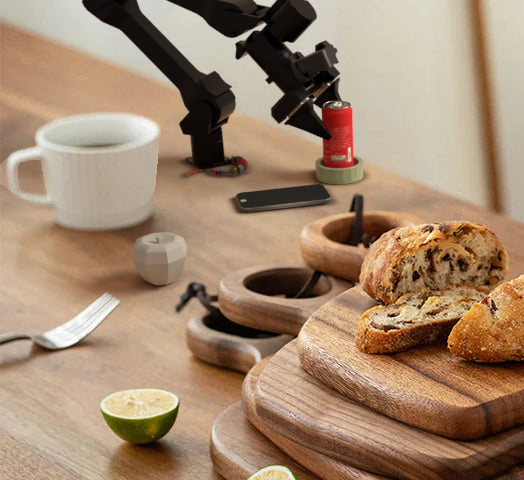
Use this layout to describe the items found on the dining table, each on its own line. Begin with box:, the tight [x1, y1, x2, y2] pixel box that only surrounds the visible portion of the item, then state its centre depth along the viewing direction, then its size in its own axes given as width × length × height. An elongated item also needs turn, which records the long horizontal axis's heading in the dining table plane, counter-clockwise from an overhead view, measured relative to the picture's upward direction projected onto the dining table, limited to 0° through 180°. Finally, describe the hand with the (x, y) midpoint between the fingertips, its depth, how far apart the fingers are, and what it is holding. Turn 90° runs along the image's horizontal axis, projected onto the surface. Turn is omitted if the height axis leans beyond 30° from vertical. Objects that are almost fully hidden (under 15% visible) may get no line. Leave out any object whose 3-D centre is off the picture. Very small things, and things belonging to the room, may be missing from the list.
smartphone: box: [235, 183, 333, 213], centre depth 176 cm, size 8×1×15 cm
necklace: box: [184, 155, 249, 178], centre depth 190 cm, size 8×11×2 cm
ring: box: [314, 155, 364, 185], centre depth 186 cm, size 8×8×3 cm
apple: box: [131, 231, 188, 286], centre depth 148 cm, size 8×8×7 cm
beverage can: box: [321, 100, 354, 168], centre depth 183 cm, size 5×5×12 cm
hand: (340, 130), depth 183 cm, fingers open, 9 cm apart
